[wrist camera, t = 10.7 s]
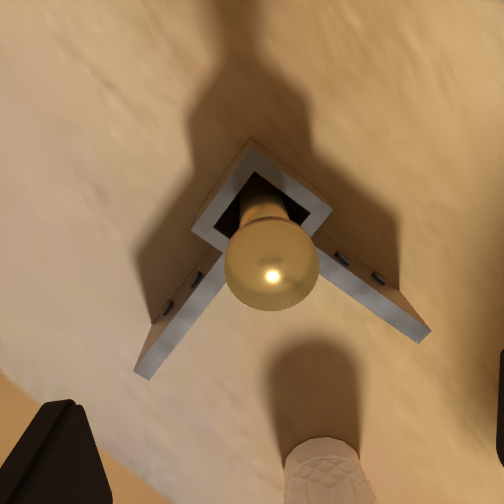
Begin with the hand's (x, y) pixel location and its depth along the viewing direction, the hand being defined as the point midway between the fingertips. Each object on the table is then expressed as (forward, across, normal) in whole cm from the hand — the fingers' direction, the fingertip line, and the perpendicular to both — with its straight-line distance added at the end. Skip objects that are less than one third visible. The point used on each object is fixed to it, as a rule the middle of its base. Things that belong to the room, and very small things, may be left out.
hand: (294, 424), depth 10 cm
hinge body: (+22, 0, +7) cm, 23 cm away
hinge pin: (+22, 0, 0) cm, 22 cm away
